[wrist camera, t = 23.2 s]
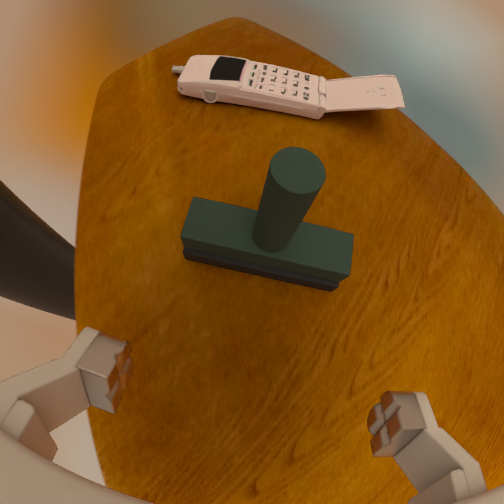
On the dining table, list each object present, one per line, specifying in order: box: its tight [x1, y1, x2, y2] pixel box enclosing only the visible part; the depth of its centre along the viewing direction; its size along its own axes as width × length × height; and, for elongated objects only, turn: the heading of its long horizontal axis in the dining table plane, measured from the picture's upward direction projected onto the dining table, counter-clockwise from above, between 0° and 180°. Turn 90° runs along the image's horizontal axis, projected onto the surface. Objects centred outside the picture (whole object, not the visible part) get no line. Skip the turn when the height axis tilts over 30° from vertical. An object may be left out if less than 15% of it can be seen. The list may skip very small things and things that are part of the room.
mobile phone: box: [172, 55, 405, 119], centre depth 28 cm, size 6×6×25 cm
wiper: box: [181, 147, 354, 291], centre depth 19 cm, size 12×4×12 cm, turn 78°
